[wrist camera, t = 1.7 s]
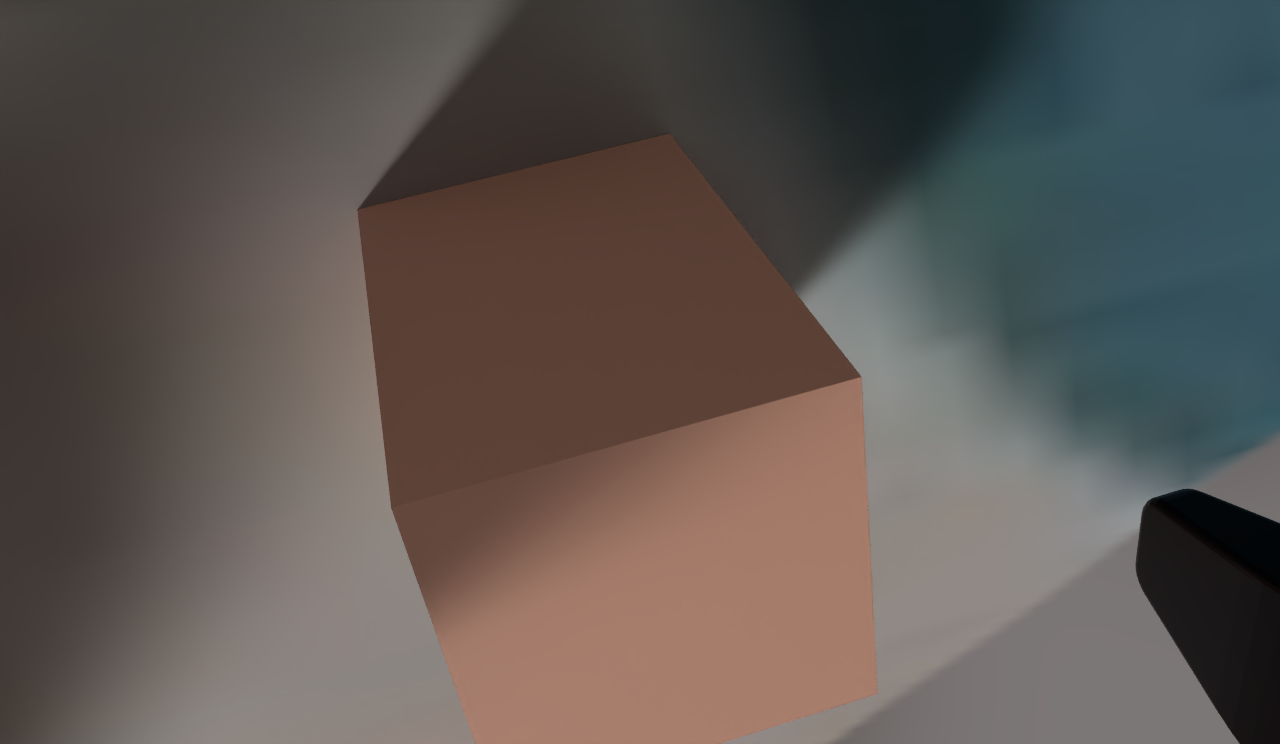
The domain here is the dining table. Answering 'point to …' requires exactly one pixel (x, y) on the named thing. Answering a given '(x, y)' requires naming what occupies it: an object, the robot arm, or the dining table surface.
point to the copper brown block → (618, 456)
